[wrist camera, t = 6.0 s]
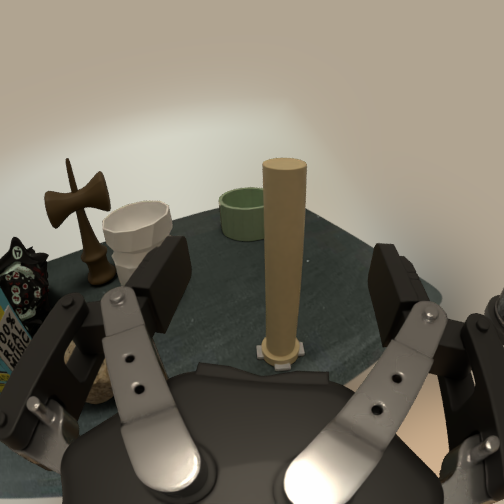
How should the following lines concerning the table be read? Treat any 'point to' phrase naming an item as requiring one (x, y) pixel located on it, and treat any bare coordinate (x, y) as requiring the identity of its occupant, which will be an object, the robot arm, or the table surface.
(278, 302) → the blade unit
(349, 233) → the table surface
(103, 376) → the rock
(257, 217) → the processor bowl
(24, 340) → the carton
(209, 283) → the table surface
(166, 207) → the vase
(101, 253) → the kendama
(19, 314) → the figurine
